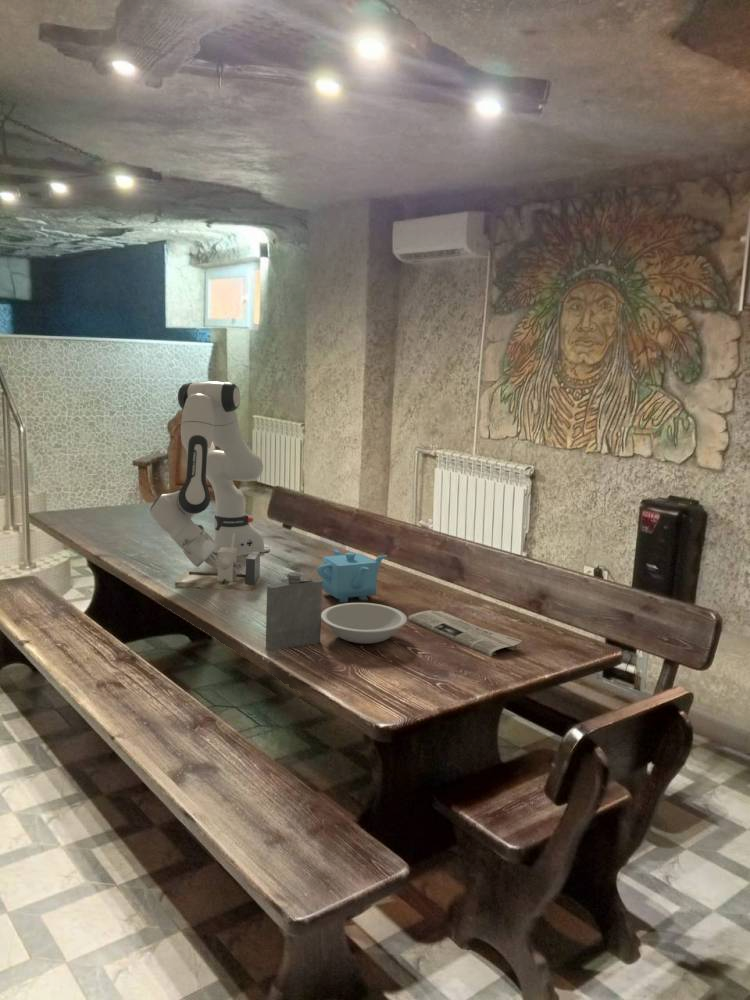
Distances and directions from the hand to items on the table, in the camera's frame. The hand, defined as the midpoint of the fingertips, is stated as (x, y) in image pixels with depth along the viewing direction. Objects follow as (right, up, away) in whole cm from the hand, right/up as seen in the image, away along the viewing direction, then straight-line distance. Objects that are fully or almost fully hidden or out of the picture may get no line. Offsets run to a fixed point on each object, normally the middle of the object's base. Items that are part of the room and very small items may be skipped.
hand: (217, 566), depth 261 cm
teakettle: (+45, -9, -6) cm, 46 cm away
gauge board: (0, -6, +1) cm, 6 cm away
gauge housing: (+4, -4, -1) cm, 6 cm away
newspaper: (+78, -17, -35) cm, 88 cm away
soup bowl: (+49, -17, -43) cm, 67 cm away
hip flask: (+30, -17, -50) cm, 61 cm away
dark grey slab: (+12, -5, +1) cm, 13 cm away
